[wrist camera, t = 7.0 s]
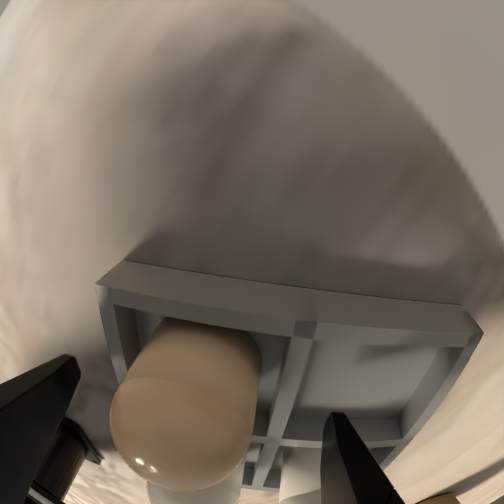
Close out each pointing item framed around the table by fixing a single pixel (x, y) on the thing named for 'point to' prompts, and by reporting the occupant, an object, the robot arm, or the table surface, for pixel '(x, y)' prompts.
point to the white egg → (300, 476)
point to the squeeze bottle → (442, 500)
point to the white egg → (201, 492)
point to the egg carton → (304, 354)
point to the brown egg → (188, 405)
